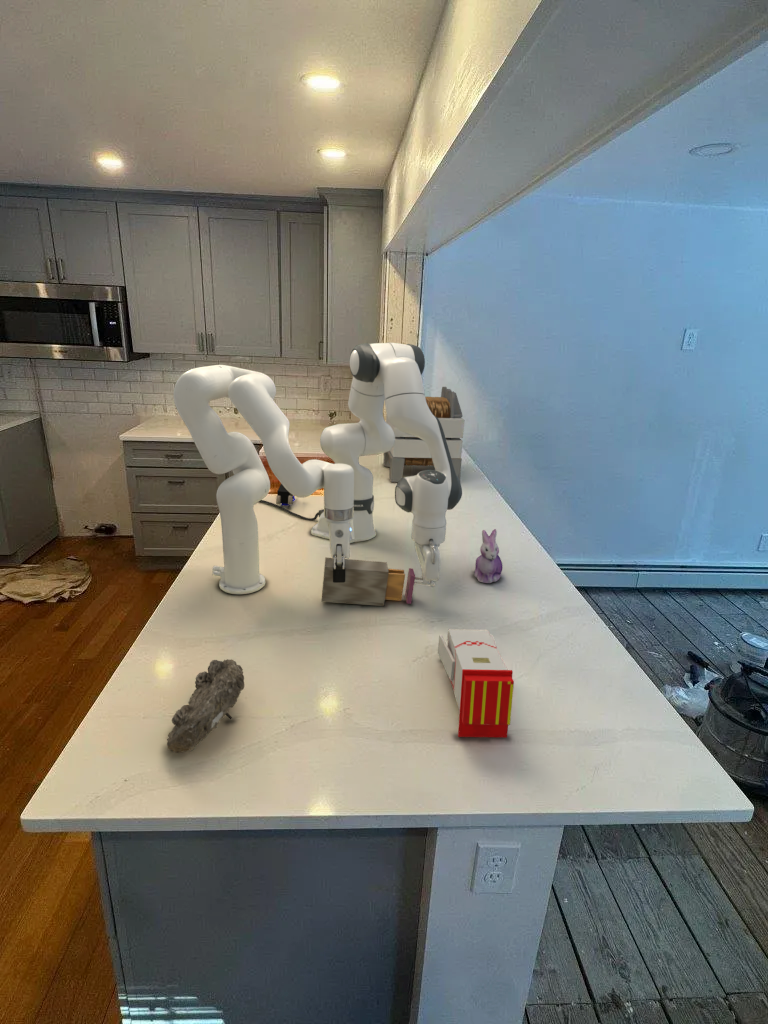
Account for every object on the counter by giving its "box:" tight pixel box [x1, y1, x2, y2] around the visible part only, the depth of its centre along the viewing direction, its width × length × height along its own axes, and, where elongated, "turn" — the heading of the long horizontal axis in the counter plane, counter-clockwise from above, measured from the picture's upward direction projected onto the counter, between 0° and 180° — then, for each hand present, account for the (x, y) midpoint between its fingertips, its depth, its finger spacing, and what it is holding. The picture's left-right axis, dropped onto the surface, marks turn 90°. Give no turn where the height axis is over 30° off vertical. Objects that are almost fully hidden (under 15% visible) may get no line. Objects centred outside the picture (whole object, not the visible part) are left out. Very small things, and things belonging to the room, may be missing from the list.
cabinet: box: [321, 557, 389, 607], centre depth 151 cm, size 17×6×10 cm, turn 94°
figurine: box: [474, 528, 503, 584], centre depth 167 cm, size 9×10×15 cm
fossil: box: [166, 658, 245, 754], centre depth 106 cm, size 22×10×15 cm
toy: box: [437, 628, 515, 738], centre depth 117 cm, size 12×13×30 cm
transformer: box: [383, 386, 465, 483], centre depth 268 cm, size 34×33×41 cm
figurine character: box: [275, 483, 296, 509], centre depth 223 cm, size 7×8×15 cm
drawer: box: [385, 567, 436, 605], centre depth 153 cm, size 21×5×8 cm, turn 94°
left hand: (338, 575), depth 150 cm, fingers closed on cabinet, 6 cm apart
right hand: (425, 580), depth 153 cm, fingers closed, pressing on drawer
